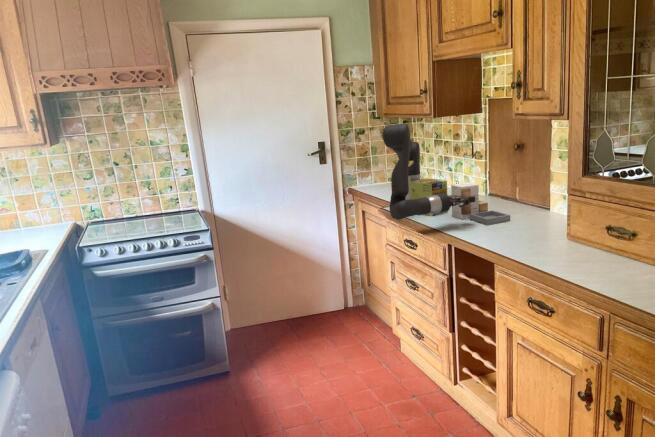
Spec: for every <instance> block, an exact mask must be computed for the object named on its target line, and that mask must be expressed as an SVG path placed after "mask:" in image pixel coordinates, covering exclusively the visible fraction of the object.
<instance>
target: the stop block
mask: <svg viewBox="0 0 655 437" xmlns="http://www.w3.org/2000/svg"><path fill="white" fill-rule="evenodd" d="M485 211H489V204H488V202H487V201H482V200H479V213H480V212H485Z"/></svg>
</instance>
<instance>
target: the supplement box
mask: <svg viewBox="0 0 655 437" xmlns="http://www.w3.org/2000/svg"><path fill="white" fill-rule="evenodd" d="M461 188H471V197H473V196H474V197H475V202H471V214H474V213H479V201H480V200H479V195H480V194H479V189H480V188H479V184H477V183H473V182H468V181H465V182H459V183H452V184H451V188H450V189H451V195H457V196H458V195H460V196H461ZM451 214H452V215H451V216H452V217H454V218H457V219H460V220H462V221H463V220H468V219H469V220H470V215H462V214H461V207H459V206H456V207H452V206H451Z"/></svg>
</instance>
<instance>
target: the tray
mask: <svg viewBox="0 0 655 437" xmlns="http://www.w3.org/2000/svg"><path fill="white" fill-rule="evenodd" d="M469 220H470V221H473V222H476V223H479V224H482V225H485V226H489V225H490V226H491V225H497V224H501V222H502V223H507V222H510V221H511V214H508V213H505V212H501V211H497V210H494V209H492V210H488V211H485V212H480V213H474V214H470V218H469ZM506 221H507V222H506Z"/></svg>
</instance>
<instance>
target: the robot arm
mask: <svg viewBox="0 0 655 437" xmlns="http://www.w3.org/2000/svg"><path fill="white" fill-rule="evenodd" d="M409 127H410V126H409V125H408V124H407V123H397V124H389V125H386V126H385V127H384V128H383V130H382V141H383V143H384V145H385V147H387V148H389V149H391V150H393V152H394V153H395V154H396V155H397V157H398V161H397V162H396V164H395V166H394V167H393V169H392V172H391V175H390V176H391V177H390V179H391V180H390V184H391V195H390V200H389V201H390V202H389V213H390V217H392V218H393V219H394V220H399V221H400V220H403V219H406V218H409V217H413V216H424V215H425V214H434V213H440V212H446V211H448V212H449V210H450V208H452V207H456V206H459V207H463V206H466V205H469V203H470V202H475V197H474V196H473V197H466V198H462V197H461V196H460V195H458V196H457V195H452V194H448V193H447V194H439V195H433V196H428V197H425V198H419V199H410V184H409V181H412V180H418V179H421V163H420V162H421V161H420V159H421V149H420V143H419V142H418V141H412V139H411V131H410V128H409ZM410 162H412V163H411V164H410ZM409 164H410V165H409ZM425 216H426V215H425Z"/></svg>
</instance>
